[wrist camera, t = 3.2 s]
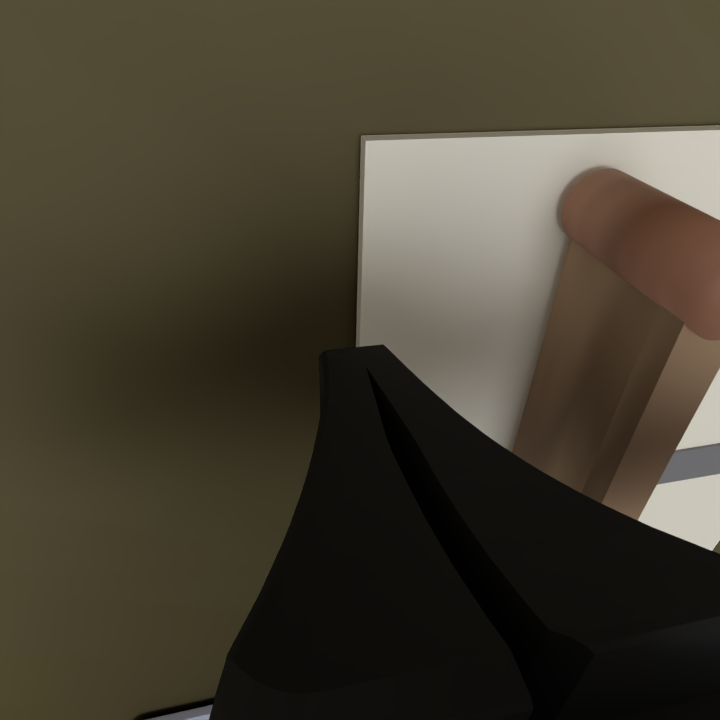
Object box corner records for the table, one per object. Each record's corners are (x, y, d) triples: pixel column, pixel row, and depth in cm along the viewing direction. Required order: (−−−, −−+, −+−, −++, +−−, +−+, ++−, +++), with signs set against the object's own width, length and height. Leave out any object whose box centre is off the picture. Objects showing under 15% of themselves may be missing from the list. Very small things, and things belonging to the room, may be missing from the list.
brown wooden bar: (542, 469, 16) (617, 585, 13) (493, 476, 16) (559, 597, 13) (643, 166, 11) (811, 245, 8) (573, 170, 11) (718, 252, 7)
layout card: (666, 598, 26) (673, 608, 26) (348, 668, 23) (350, 681, 23) (998, 117, 13) (1022, 121, 12) (361, 135, 10) (367, 142, 10)
